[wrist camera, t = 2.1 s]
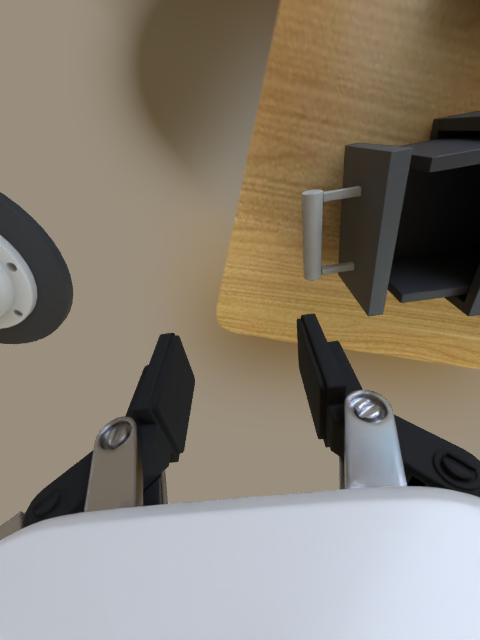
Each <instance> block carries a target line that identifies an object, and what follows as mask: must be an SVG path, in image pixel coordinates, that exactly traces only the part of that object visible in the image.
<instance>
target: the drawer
mask: <svg viewBox="0 0 480 640" xmlns="http://www.w3.org/2000/svg"><path fill="white" fill-rule="evenodd" d="M339 199H342V211H341V229H340V246H339V264H332V265H326V266H322V213H323V202H327V201H333V200H339ZM302 220H303V262H304V278H305V279H306V280H309V281H314V280H318V279H320V278H321V274H322V275H324V274H331V273H338V275H339V276H340V278H341V279H342V281H343V282H344V283H345V285H346V286H347V288H348V289H349V290H350V292H351V293H352V295H353V296H354V297H355V299H356V300H357V302H358V303H359V304H360V306H361V307H362V308H363V310H364V311H365V313H366V314H367V315H368V316H374V315H381V314H383V312H384V306H385V301H386V295H387V289H388V290H389V291H390V292H391V293H392V294H393V296H394V297H395V298H396V299H397V300H398V301H399V302H400V303H405V302H412V301H419V300H427V299H434V298H441V297H449V296H456V295H463V294H468V292H469V289H470V287H471V284H472V281H473V279H474V276H475V273H476V271H477V268H478V265H479V263H480V132H475V133H470V134H464V135H459V136H453V137H448V138H442V139H437V140H431V141H426V142H420V143H415V144H409V145H404V146H389V145H378V144H367V143H356V144H351V145H346V146H345V157H344V175H343V189H338V190H332V191H326V192H323V191H322V190H308V191H305V192H303V193H302Z"/></svg>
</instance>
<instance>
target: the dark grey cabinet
mask: <svg viewBox="0 0 480 640" xmlns="http://www.w3.org/2000/svg"><path fill="white" fill-rule="evenodd" d="M475 132H480V111H475V112H469V113H464V114H459V115H453V116H448V117H443V118H437V119H434V124H433V129H432V133H431V138H430V141H431V140H437V139H442V138H448V137H453V136H459V135H464V134H470V133H475ZM445 298H446V299H447V300H448V301H450V302H451V303H452V304H453V305H455V306H456V307H457V308H458V309H460V310H461V311H462V312H463V313H465V314H466V315H467V316H475V315H480V263H479V265H478V268H477V271H476V273H475V276H474V279H473V281H472V284H471V287H470V289H469V292H468V294H463V295H456V296H449V297H445Z"/></svg>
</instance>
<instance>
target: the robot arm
mask: <svg viewBox="0 0 480 640" xmlns="http://www.w3.org/2000/svg"><path fill="white" fill-rule="evenodd" d="M36 301H37V286H36V283H35V280H34V276H33V274H32V272H31V270H30V269H29V267H28V265H27V263H26V262H25V261H24V259H23V258H22V256H21V255H20V254H19V252H18V251H17V250H16V249H15V248H14V247H13V246H12V245H11V244H10V243H9V242H8V241H7V240H6V239H4V238H3V237H2V236H1V235H0V329H2V328H8V327H11V326H14V325H17V324H18V323H20V322H21V321H23V320H24V319H25V318H26V317H27V316H28V315H29V314H30V313H31V312H32V311H33V309H34V307H35V305H36ZM297 337H298V358H299V369H300V373H301V377H302V380H303V384H304V388H305V392H306V395H307V399H308V403H309V407H310V410H311V414H312V418H313V422H314V425H315V429H316V433H317V436H318V439H323V440H324V443H325V446H326V447H330V449H331V451H333V452H334V453H335V454H337V455H338V456H339V481H340V482H339V485H340V486H339V488H340V489H339V490H330V491H318V492H304V493H292V494H280V495H268V496H267V495H266V496H254V497H243V498H231V499H219V500H207V501H197V502H184V503H173V504H168V501H167V488H166V475H165V469H166V468H167V467H168V466H169V463H171V462H178V460H179V454H180V453H183V451H184V447H185V441H186V435H187V429H188V422H189V416H190V410H191V404H192V398H193V391H194V385H195V378H194V375H193V372H192V369H191V367H190V364H189V361H188V358H187V356H186V353H185V350H184V348H183V345H182V342H181V340H180V337H179V336H175V334H174V333H168V334H161V335H160V337H159V339H158V342H157V345H156V347H155V350H154V353H153V355H152V358H151V361H150V363H149V365H147V366H146V367H145V368H144V370H143V372H142V375H141V377H140V380H139V382H138V385H137V388H136V390H135V393H134V396H133V398H132V401H131V403H130V406H129V408H128V411H127V414H126V416H125V417H119V418H116V419H114V420H112V421H110V422H109V423H107V424H106V425H105V426H104V427H103V428H102V429H101V430H100V432H99V434H98V435H97V437H96V440H95V444H94V450H93V451H92V452H90V453H89V454H88V455H87V456H85V457H84V458H83V459H81V460H80V461H79V462H78V463H76V464H75V465H74V466H72V467H71V468H70V469H69V470H67V471H66V472H65V473H63V474H62V475H61V476H60V477H58V478H57V479H56V480H54V481H53V482H52V483H51V484H49V485H48V486H47V487H46V488H44V489H43V490H42V491H41V492H40V493H39V494H38V495H37V496H36V497H35V498H34V499H33V501H32V502H31V504H30V506H29V507H28V509H27V511H26V512H25V513H23V512H19V513H18V514H16V515H15V516H14V517H12V518H11V519H9V520H8V521H6V522H5V523H4V524H2V525H1V526H0V640H480V461H479V460H478V459H477V458H476V457H475V456H473V455H472V454H470V453H469V452H467V451H466V450H464V449H462V448H460V447H458V446H456V445H454V444H452V443H450V442H448V441H446V440H444V439H441V438H440V437H438V436H436V435H434V434H432V433H430V432H428V431H426V430H424V429H422V428H420V427H418V426H416V425H414V424H412V423H410V422H407V421H406V420H404V419H402V418H400V417H398V416H396V415H394V413H393V409H392V407H391V404H390V403H389V402H388V401H387V399H386V398H384V397H383V396H382V395H380V394H378V393H376V392H374V391H369V390H363V389H362V387H361V385H360V383H359V381H358V379H357V377H356V375H355V373H354V371H353V369H352V367H351V365H350V363H349V361H348V359H347V357H346V355H345V353H344V351H343V349H342V347H341V345H340V343H339V342H338V341H333V342H327V340H326V338H325V336H324V333H323V331H322V329H321V327H320V324H319V322H318V320H317V317H316V315H315V314H306V315H301V319H297Z"/></svg>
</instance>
